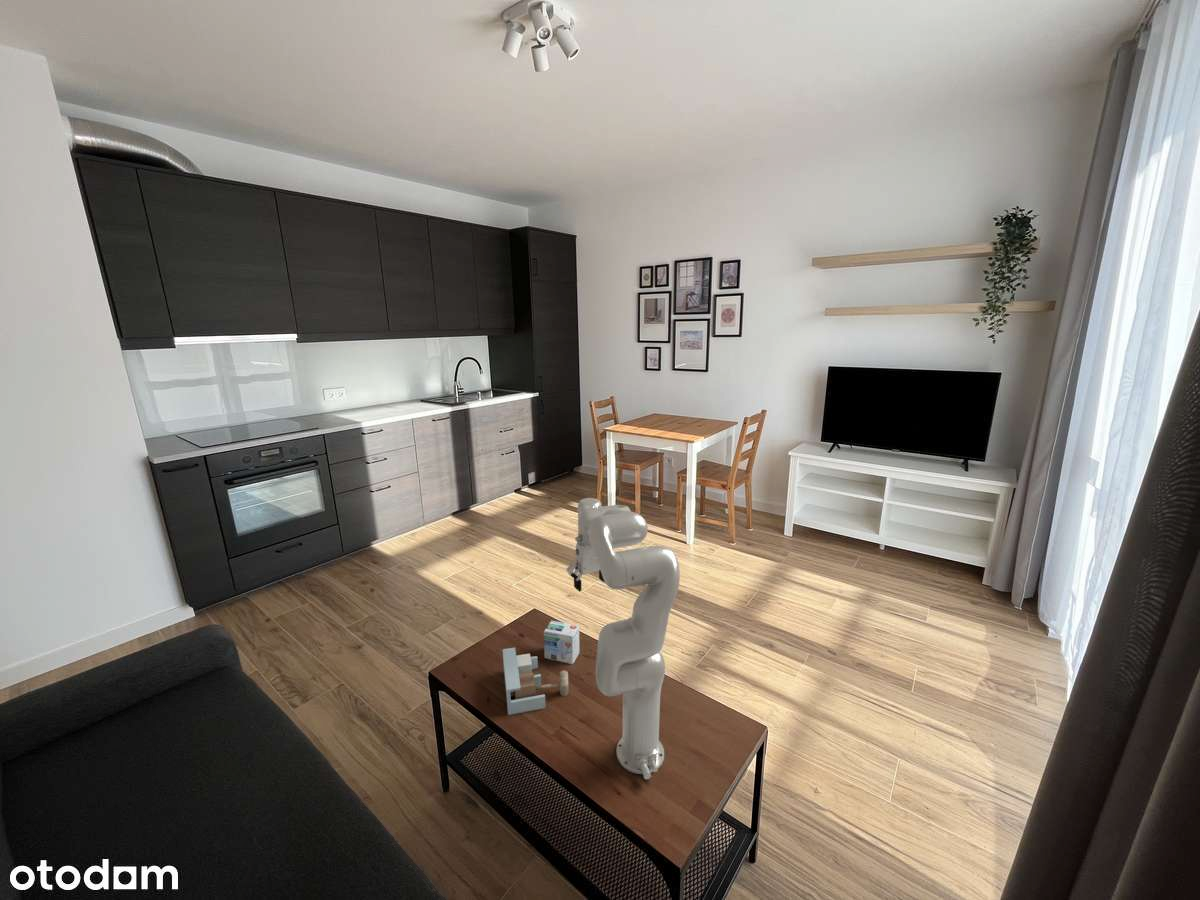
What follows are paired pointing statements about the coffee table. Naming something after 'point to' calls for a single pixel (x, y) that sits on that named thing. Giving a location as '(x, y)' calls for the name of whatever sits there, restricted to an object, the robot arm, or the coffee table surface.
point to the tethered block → (530, 689)
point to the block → (524, 664)
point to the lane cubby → (514, 684)
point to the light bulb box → (561, 642)
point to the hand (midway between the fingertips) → (590, 585)
